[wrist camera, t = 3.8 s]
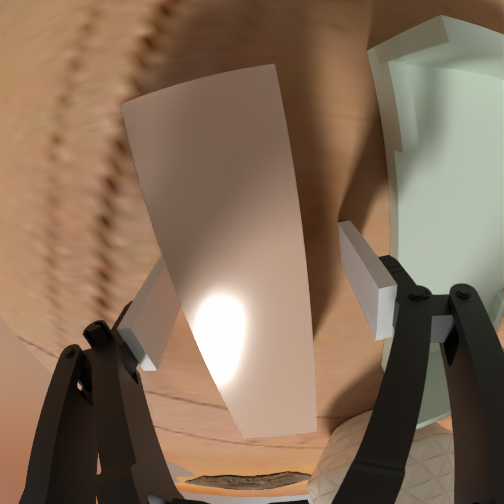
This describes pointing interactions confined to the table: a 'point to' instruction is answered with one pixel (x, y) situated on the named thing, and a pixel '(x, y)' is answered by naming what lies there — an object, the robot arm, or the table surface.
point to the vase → (416, 470)
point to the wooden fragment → (251, 481)
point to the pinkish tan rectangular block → (233, 238)
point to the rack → (444, 168)
